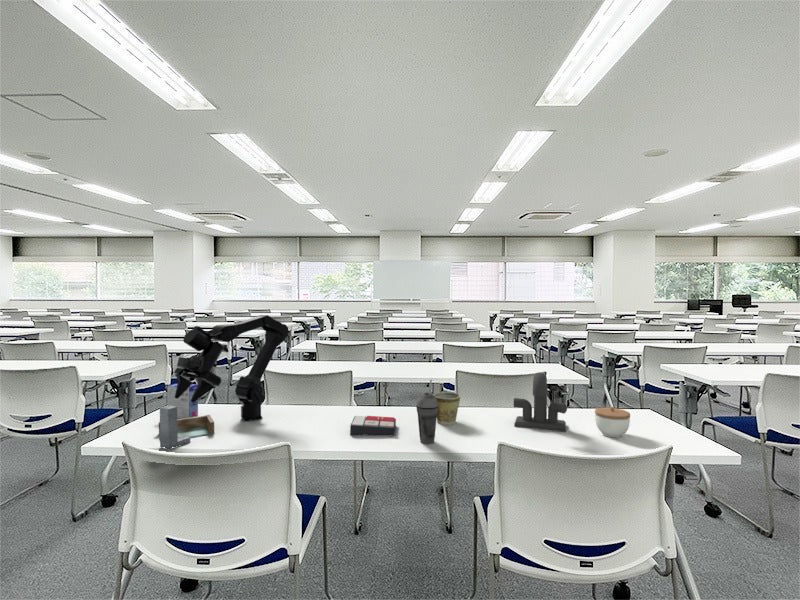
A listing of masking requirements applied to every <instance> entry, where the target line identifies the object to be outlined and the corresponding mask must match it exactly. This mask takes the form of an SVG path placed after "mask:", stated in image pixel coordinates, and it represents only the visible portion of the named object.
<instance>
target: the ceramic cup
mask: <svg viewBox="0 0 800 600" xmlns="http://www.w3.org/2000/svg"><path fill="white" fill-rule="evenodd" d="M432 395H434V396H435V397H436V399H437V401H438V406H439V407H438V412H437V418H436V423H438V424H440V425H442V424H443V425H444V426H451V425H455V423H456V422H457V416H458V412H459V411H458V410H459V407H460V400H461V395H460V394H459V393H456V392H452V391H448V392H447V391H442V392H436V393H432ZM450 424H451V425H450Z"/></svg>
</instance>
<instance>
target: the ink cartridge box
mask: <svg viewBox="0 0 800 600" xmlns="http://www.w3.org/2000/svg"><path fill="white" fill-rule="evenodd" d="M177 384H178V383H173V384H171V385H168V386H167V401H166V403H167V405H166V406H168V405H170V406H175V407H177V419H184V418H191V417H198V416H199V399H198V400H196V401H195V402H191V399H192V396H193V394H194V392H195V390H196V388H197V386H198V383H196V384H195V383H194V384H193V383H192V385H191V386H190V387H189V388H188V389H187V390H186V391H185V392H184V393H183V394H182V395H181V396H180V397H179V398H178V399H177V398H175V393H176V389H177Z"/></svg>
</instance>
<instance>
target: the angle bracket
mask: <svg viewBox="0 0 800 600" xmlns="http://www.w3.org/2000/svg"><path fill="white" fill-rule="evenodd" d="M177 419H178V418H177V407H175V406H170V405H168V406H167V405H165V406H160V407H159V422H160V437H159V443H160V447H165V448H167V449H170V450H172V449H171V448H172V447H176V446H178V447H180V446H179V445H181V446H183V445H186V444H190V443H191V438H190V437H186V436H179V437H178V430H177ZM176 448H177V447H176ZM167 449H166V450H167Z"/></svg>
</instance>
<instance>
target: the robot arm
mask: <svg viewBox="0 0 800 600" xmlns="http://www.w3.org/2000/svg"><path fill="white" fill-rule="evenodd" d="M258 328H261V329H262V330H263V331H265V333H264V339H265V341H264V343H263V345H262V347H261V349H260V351H259V353H258V355H257V357H256V359H255V360H254V363H253V365H252V366H251V369H250V371H249V372H248V374H247V375H246V376H240V377H239V380H238V381H237V383H236V385H235V390H234V392H235V395H236V397H238V401H239V402H241V406H240V418H241V419H242V420H243V421H244V422H248V421H254V420H261V419H263V416H262V403H264V402H265V399H266V396H265V395H264V394H263V393H262V392H261V388H262V378H263V375H264V374H265V371H266V369H267V367H268V365H269V364H270V361H271V359H272V358H273V355H274V354H275V352H276V349H277V347H279V346H280V345H281V344H282V343H284V341H286V339H287V337H288V336H289V333H290V330H289V327H288V326H287V324H285V323H282V322H281V321H279V320H276V319H274V318H273V317H271V316H270V315H267V314H259V315H257V316H255V317H251V318H248V319H246V320H245V319H244V320H242V321H238V322H236V323H230V324H229V323H228V324H227V323H226V324H225V323H224V324H217V325H216V324H215V325H214V326H213V327H212V329H211V330H208V331H205V330H204V329H203V328H202V327H201V326H198V325H195V326H194V327H193V328H192V329H191V330H189V331H188V332H187V333H185V334H184V336H183V343H184V344H186V345H187V346H189V347H191V348H192V349H193V350H196V352H201V353H200V354H199V355H195V356H193V355H192V356H190V358H189V357H188V358H187V357H181V356H179V357H178V360H177V364H176V369H175V370H174V372H173V374H175V375H174V376H175V378H176V379H177V383H176V384H177V389H176V393H175V398H177V399H178V398H179V397H180V396H181V395H182V394H183V393H184V392H185V391H186V390H187V389H188V388H189V387H190V386H191V385H192V384H193V383H194V381H195V380H196V379H197V380H196V381H197V384H198V386H197V388H196V390H195V392H194V394H193V396H192V399H191V402H195V401H196V400H198V401H199V399H201V398H202V397H203V396H205V395H206V394H208V392H210V391H211V390H213V389H216V387H220V385H221V383H222V377H220V376H219V375H217V374H215V373H213V372H212V370H213V368H217V366H218V364H217V363H216V362H217V361H218V359H219V358H220V356H221V354H222V353H229V348H228V345H227V344H224V343H229V342H232V341H234V340H236V339H237V338H238V337H239V336H240V335H242V334H244V333H247V332H250V331H252V330H256V329H258ZM220 342H221V343H220ZM222 342H224V343H222Z"/></svg>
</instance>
